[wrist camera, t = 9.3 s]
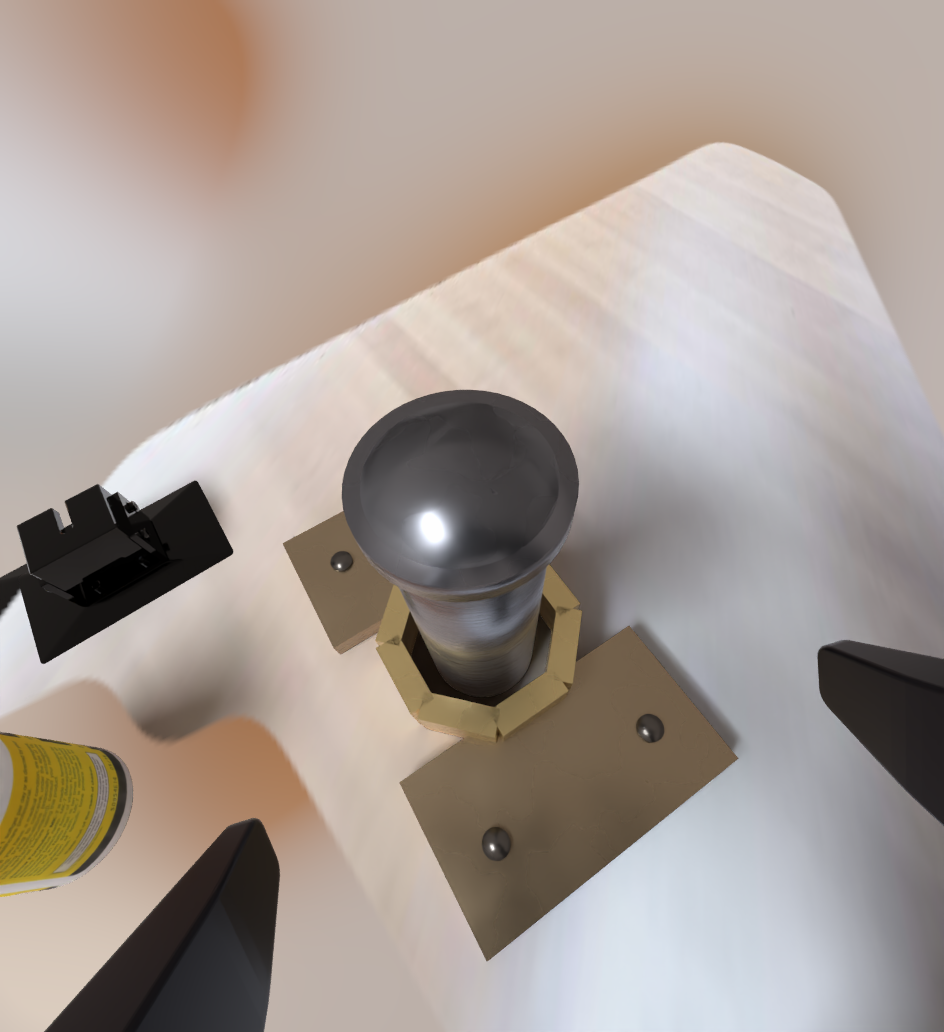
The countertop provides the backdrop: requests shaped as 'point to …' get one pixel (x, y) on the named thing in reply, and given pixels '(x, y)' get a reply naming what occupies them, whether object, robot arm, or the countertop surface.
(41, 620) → the black notched mount
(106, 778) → the supplement bottle
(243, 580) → the countertop surface
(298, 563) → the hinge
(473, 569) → the hinge pin
